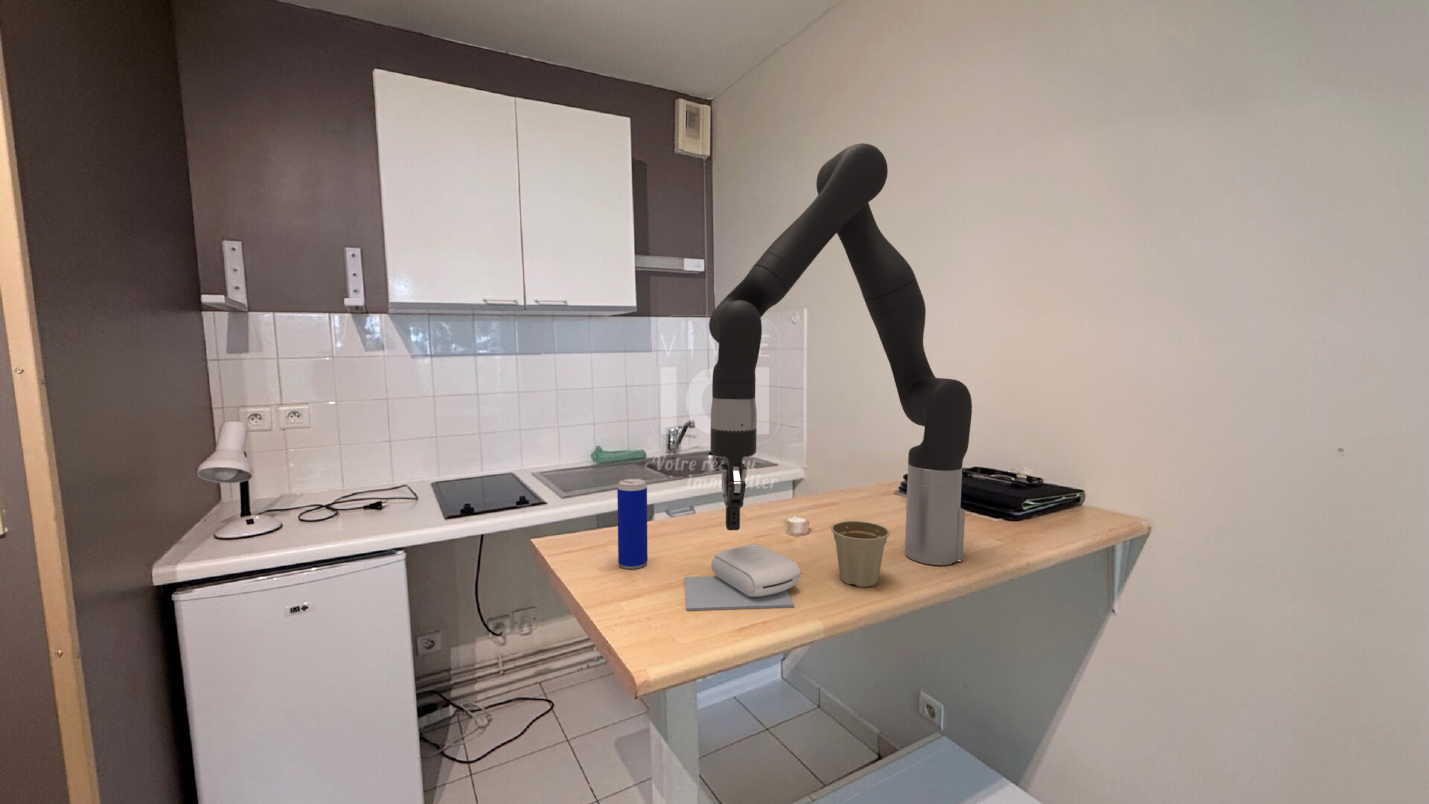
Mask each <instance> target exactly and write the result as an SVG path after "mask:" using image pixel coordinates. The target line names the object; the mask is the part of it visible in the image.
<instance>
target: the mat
mask: <svg viewBox="0 0 1429 804" xmlns="http://www.w3.org/2000/svg"><path fill="white" fill-rule="evenodd" d="M684 591H685V592H684V594H685V605H686V606H685V611H687V612H690V611H691V612H692V611H695V612H696V611H718V610H719V611H721V610H722V611H723V610H746V609H747V610H748V609H749V610H750V609H751V610H753V609H754V610H755V609H779V608H780V609H785V608H795V604H794V601H793V600H792V598H791V596H790V594H789V592H788V589H787V590H784V591H782V592H779V593H775V594H771V595H767V596H760V597H751V596H748V595H746V594H745V593H743V592H741V591H740V590H738V589H736V588H735V587H733V586H732V585H730V584H728V583H727V582H725V581H724V580H722V579H720V578H719V577H717V576H716V575H710V576H709V575H708V576H684Z"/></svg>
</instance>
